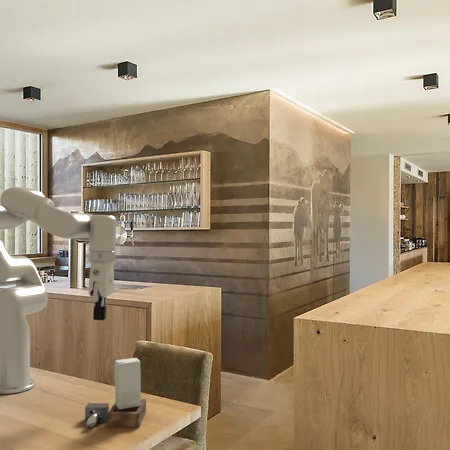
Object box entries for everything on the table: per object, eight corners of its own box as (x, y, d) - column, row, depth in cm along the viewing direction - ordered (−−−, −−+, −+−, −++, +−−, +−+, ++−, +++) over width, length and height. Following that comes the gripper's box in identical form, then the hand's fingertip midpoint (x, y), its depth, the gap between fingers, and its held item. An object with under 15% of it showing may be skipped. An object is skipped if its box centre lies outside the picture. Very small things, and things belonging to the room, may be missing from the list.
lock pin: (84, 429, 120) (84, 417, 120) (94, 414, 129) (94, 404, 129) (96, 429, 120) (96, 417, 120) (105, 414, 129) (105, 404, 129)
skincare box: (136, 401, 130) (137, 356, 130) (141, 407, 125) (141, 360, 126) (114, 404, 127) (114, 359, 127) (117, 410, 123) (118, 363, 123)
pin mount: (85, 422, 124) (85, 407, 124) (88, 417, 127) (88, 403, 127) (105, 422, 124) (105, 407, 124) (108, 417, 127) (108, 403, 127)
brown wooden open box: (107, 427, 121) (107, 413, 121) (116, 411, 131) (117, 399, 131) (139, 427, 121) (139, 413, 121) (145, 412, 131) (146, 399, 131)
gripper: (107, 259, 132) (104, 325, 132) (121, 255, 147) (118, 315, 147) (80, 258, 132) (77, 324, 132) (97, 254, 147) (94, 314, 147)
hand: (99, 319), depth 140 cm, fingers closed
